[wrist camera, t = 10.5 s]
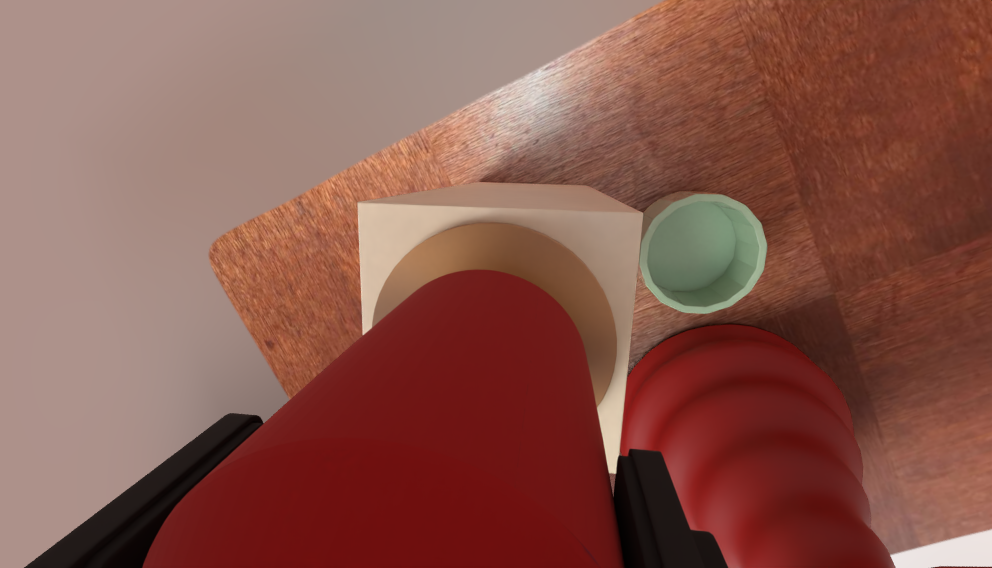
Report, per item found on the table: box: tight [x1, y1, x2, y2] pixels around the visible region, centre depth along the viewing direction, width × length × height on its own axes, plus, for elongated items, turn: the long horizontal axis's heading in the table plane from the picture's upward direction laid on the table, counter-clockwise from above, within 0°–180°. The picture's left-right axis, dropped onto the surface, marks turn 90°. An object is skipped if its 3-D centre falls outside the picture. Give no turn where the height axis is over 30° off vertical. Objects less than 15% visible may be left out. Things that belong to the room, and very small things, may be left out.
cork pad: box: [372, 222, 617, 407], centre depth 18 cm, size 9×9×1 cm
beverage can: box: [142, 269, 625, 568], centre depth 10 cm, size 7×7×12 cm
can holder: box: [637, 191, 767, 314], centre depth 41 cm, size 10×10×6 cm
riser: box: [358, 182, 643, 474], centre depth 31 cm, size 10×10×28 cm
